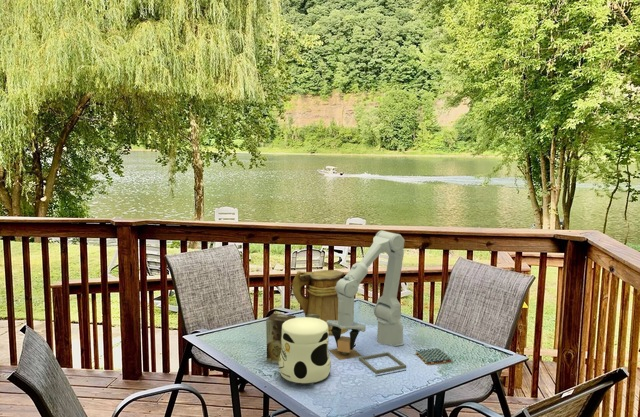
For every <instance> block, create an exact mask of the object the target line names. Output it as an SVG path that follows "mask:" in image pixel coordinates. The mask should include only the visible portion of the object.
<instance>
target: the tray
mask: <svg viewBox="0 0 640 417" xmlns="http://www.w3.org/2000/svg"><path fill="white" fill-rule="evenodd" d="M382 357H389V359H391V360H392V361H394V362H395V363H396V364H398V365H396V366H390V367H385V368H379V369H376V368H375V367H374V366H373V365H371V364H370V363H369V362H368V361H366V360H373V359H377V358H382ZM358 361H360V363H362V364H363V365H364V366H366V367H367V368H368V369H369V370H371V372H373V373H374V374H375V375H374V377H382V376H386V375H391V374H396V373H402V372H406V371H407V365H406V364H405V363H404V362H402V361H401V360H400V359H398V358H397V357H396V356H394V355H393V354H391V353H390V352H389V351H386V352H381V353H377V354H370V355H365V356H359V357H358ZM403 369H404V370H403Z"/></svg>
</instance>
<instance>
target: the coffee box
mask: <svg viewBox="0 0 640 417" xmlns="http://www.w3.org/2000/svg"><path fill="white" fill-rule="evenodd" d="M293 318H297V317H296V315H290V314H282V313H272V314H270V315H269V316H267V318H265V326H266V328H265V329H266V330H265V331H266V362H267V363H271V364H272V363H273V364H276V365H277V364H278V365H279V358H280V354H281V349H282V343H281V337H282V324H283V323H284V322H285V321H287V320H289V319H293Z"/></svg>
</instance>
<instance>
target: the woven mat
mask: <svg viewBox="0 0 640 417" xmlns="http://www.w3.org/2000/svg"><path fill="white" fill-rule="evenodd" d="M415 351H416V352H415V353H414V355H416V356H417V358H420V361H422V362H424V364H426V365H427V366H433V365H441V364H451V363H453V359H452V358H451V357H450V355H448V354H446V353H445V352H444V351H442V350H441V349H440V348H436V347H434V348H431V349H429V348H427V349H423V350H422V349H419V350H418V349H415Z"/></svg>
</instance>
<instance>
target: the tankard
mask: <svg viewBox="0 0 640 417" xmlns="http://www.w3.org/2000/svg"><path fill="white" fill-rule="evenodd" d="M344 275H345V272H344V271H341V270H337V269H324V270H316V271H315V270H314V271H309V272H308V271H302V270H297V271H296V274H295V276H294V278H293V280H292V284H291V286H292V288H291V289H292V293H293V295H294V296H293V297H294V298H295V299H296V301H297V303H298V304H299V305H300V307H301V308H302V310H303V313H304V317H305V316H306V315H309V314H316V315H319V316H320V319H321V320H323V321H325V322H326V321H328V320H337V321H338V297H337V292H336V290H335V286H336V284H337V282H338V281H339V280H340V279H341V278H342V277H344ZM306 285H307V286H306ZM304 286H306V288H305V290H306V291H307V292H308V296H306V295H304V294H303V293H302V288H303V287H304ZM331 329H332V327H330V326H329V327H328V331H329V335H328V337H330V336H333V334H332V332H331ZM348 331H349V329H341V335H343V334H345V333H347V332H348Z"/></svg>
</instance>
